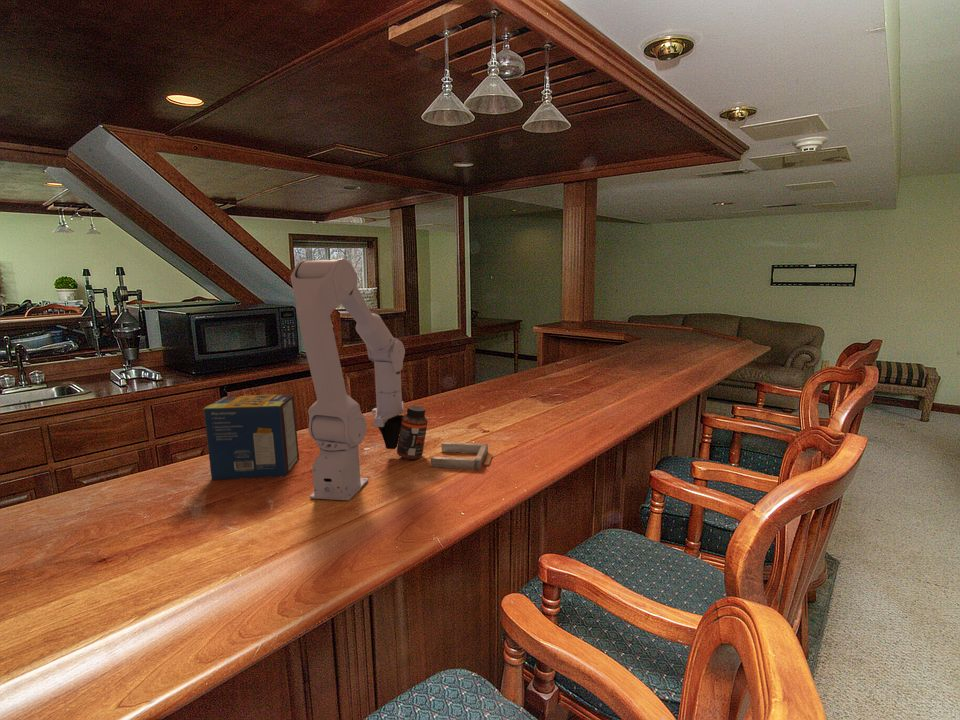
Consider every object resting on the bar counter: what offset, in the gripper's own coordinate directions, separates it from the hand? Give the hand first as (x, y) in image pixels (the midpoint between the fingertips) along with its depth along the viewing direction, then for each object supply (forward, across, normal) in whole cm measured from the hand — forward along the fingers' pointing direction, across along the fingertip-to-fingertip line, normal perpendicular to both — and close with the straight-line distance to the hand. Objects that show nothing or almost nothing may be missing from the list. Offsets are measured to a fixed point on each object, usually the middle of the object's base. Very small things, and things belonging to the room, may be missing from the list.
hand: (391, 448), depth 114 cm
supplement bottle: (+2, 0, +4) cm, 4 cm away
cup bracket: (+2, 0, +16) cm, 16 cm away
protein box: (+2, +11, -27) cm, 29 cm away
